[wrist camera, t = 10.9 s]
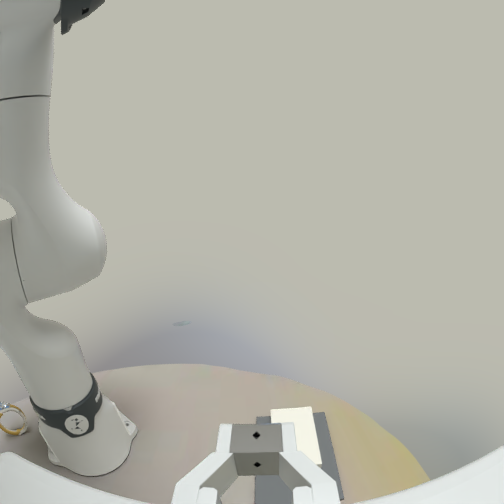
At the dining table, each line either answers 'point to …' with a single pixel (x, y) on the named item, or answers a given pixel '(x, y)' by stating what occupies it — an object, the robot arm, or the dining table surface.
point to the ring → (5, 407)
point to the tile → (301, 430)
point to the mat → (274, 488)
